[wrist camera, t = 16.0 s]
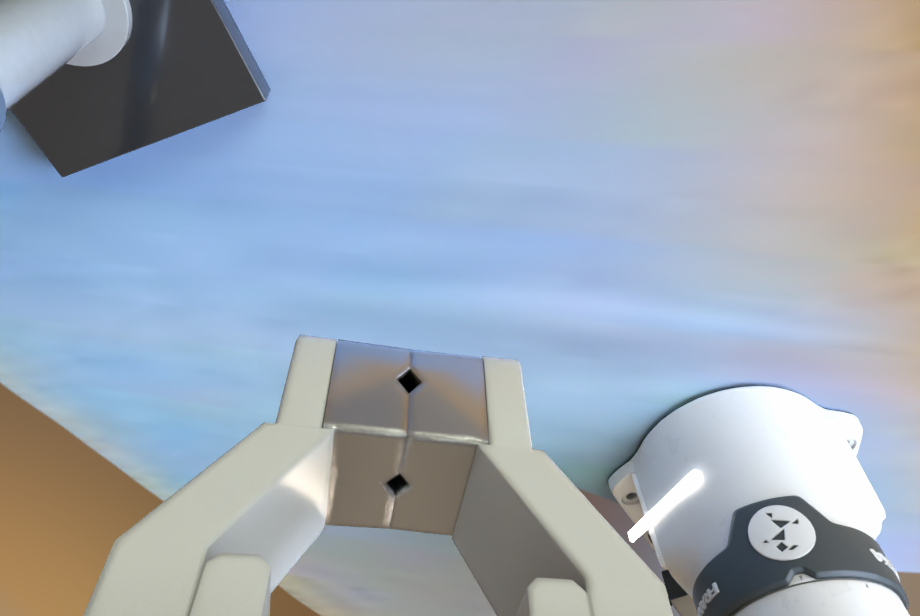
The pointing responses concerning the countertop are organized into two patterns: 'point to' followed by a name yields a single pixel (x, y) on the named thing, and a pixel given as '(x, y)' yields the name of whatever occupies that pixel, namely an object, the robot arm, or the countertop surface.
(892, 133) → the countertop surface
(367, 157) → the countertop surface
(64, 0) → the tap stand
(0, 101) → the spout
